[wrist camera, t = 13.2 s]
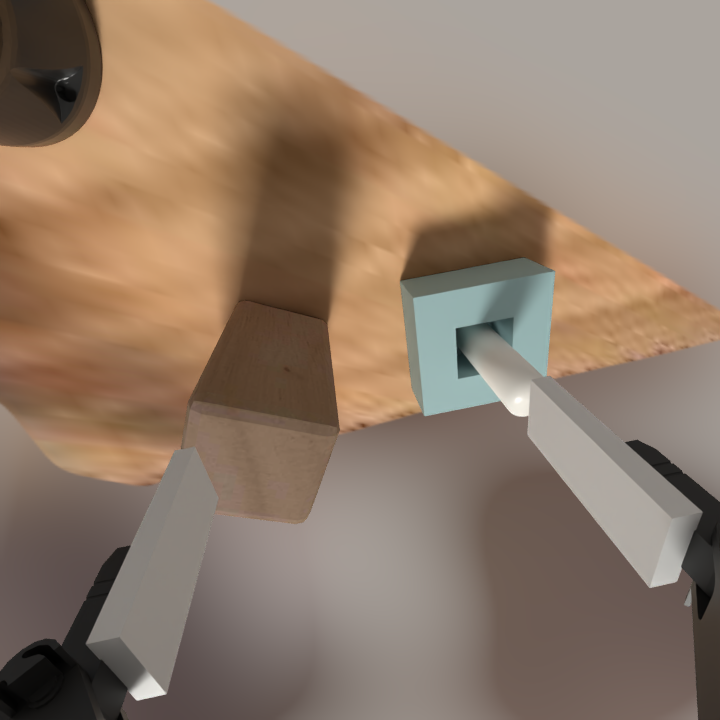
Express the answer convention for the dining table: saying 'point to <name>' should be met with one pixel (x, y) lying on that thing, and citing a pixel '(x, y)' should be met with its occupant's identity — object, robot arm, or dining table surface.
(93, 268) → the dining table surface
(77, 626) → the robot arm
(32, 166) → the dining table surface
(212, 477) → the wooden block
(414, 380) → the socket
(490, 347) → the peg
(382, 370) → the dining table surface
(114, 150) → the dining table surface
